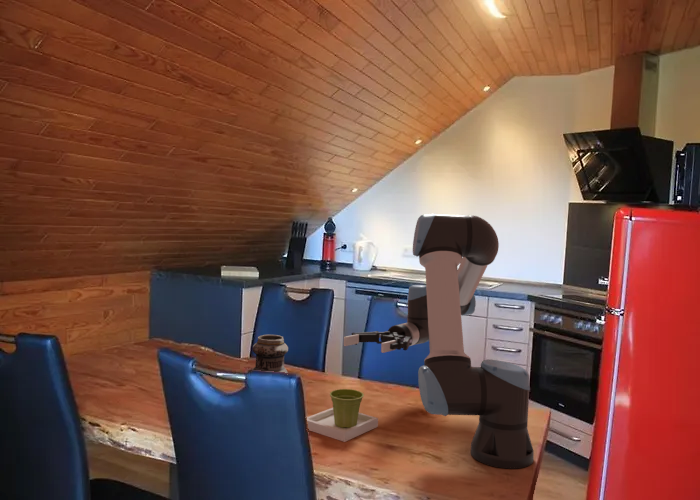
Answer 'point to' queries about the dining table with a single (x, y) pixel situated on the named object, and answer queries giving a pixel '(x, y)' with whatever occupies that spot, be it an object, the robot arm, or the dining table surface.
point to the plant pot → (346, 406)
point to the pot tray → (327, 427)
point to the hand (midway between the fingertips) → (363, 344)
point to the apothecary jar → (270, 353)
